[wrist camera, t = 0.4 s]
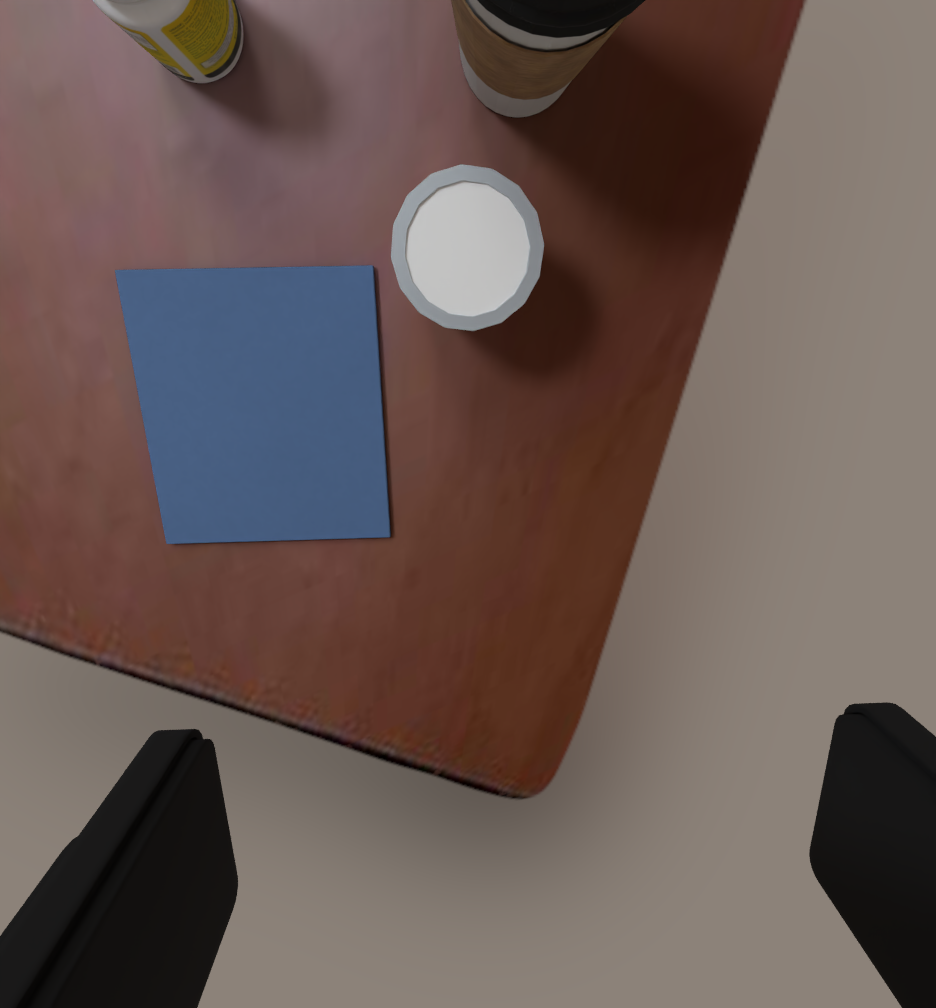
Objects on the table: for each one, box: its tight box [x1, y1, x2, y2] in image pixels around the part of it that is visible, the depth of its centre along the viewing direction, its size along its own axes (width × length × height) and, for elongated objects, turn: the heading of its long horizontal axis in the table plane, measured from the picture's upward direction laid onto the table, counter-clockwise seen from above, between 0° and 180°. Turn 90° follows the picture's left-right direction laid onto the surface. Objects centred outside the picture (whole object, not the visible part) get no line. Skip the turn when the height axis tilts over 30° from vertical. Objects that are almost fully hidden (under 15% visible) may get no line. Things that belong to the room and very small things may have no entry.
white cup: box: [391, 164, 544, 331], centre depth 29 cm, size 7×7×7 cm
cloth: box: [115, 266, 391, 544], centre depth 35 cm, size 16×14×1 cm
